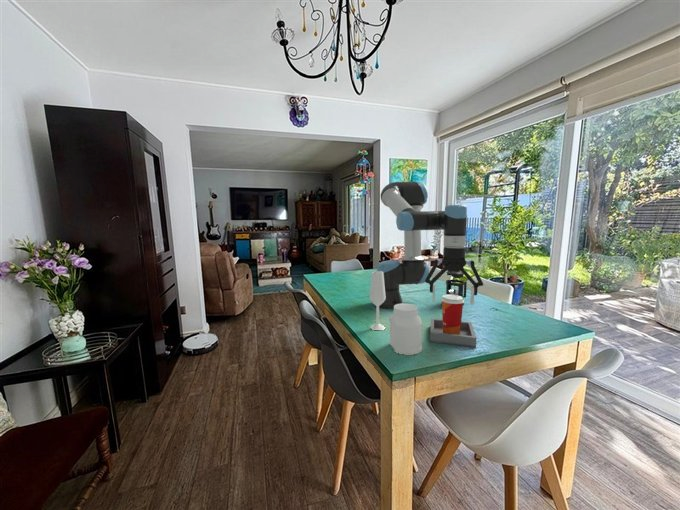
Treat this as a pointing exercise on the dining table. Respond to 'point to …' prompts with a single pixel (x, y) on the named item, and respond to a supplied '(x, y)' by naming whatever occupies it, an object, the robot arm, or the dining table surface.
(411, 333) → the jar
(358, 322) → the dining table surface
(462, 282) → the french press
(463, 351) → the dining table surface
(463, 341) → the bin
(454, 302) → the coffee cup
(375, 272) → the champagne flute
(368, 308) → the dining table surface
